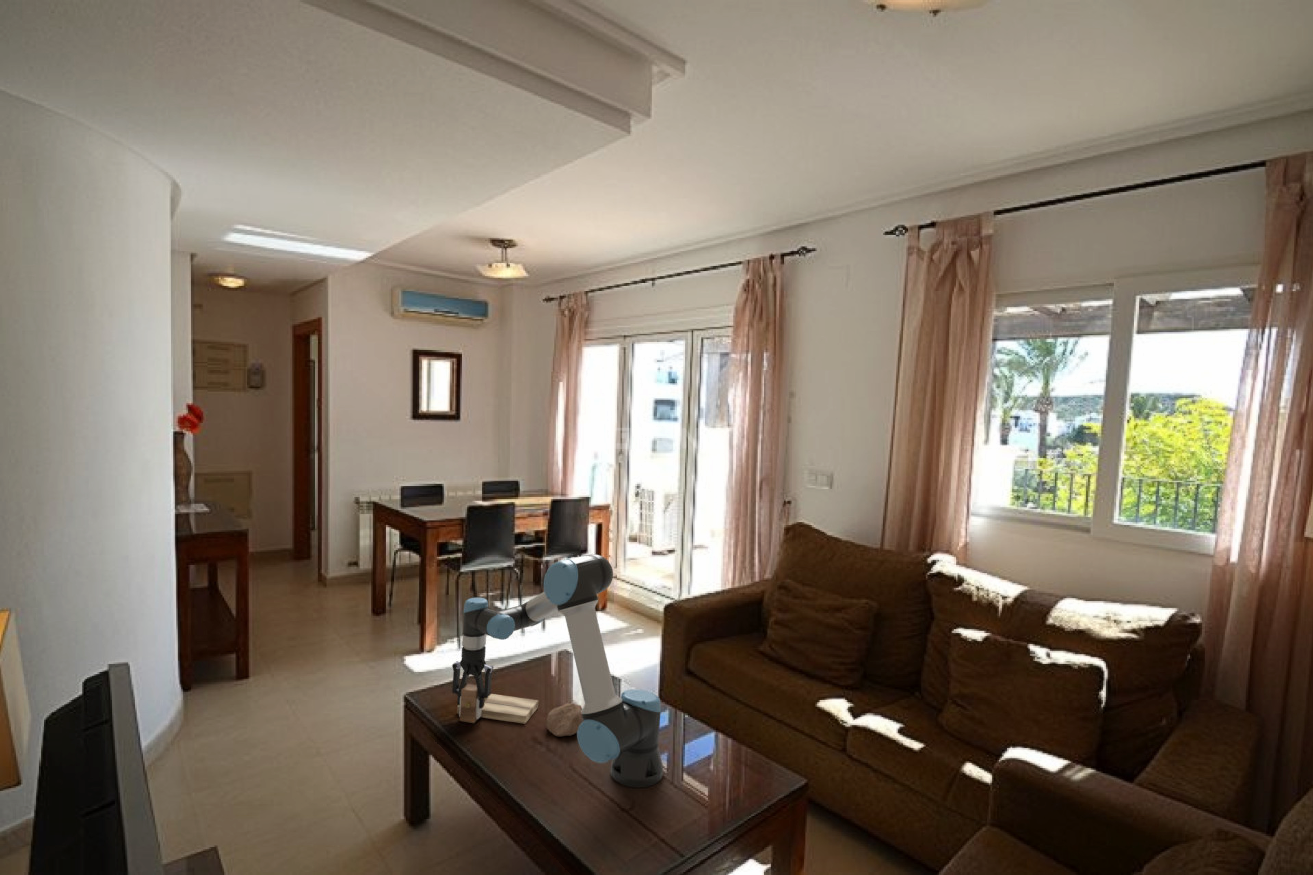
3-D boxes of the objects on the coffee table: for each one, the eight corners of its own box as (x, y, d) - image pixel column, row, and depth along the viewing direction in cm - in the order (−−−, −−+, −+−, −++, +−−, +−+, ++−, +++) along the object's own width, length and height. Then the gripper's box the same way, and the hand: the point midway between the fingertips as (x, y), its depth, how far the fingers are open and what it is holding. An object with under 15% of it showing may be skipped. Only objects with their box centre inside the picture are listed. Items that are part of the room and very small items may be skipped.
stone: (587, 735, 206) (586, 702, 211) (584, 733, 198) (583, 699, 203) (549, 739, 205) (549, 706, 210) (544, 737, 197) (544, 703, 202)
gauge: (473, 723, 204) (475, 691, 204) (459, 721, 205) (460, 689, 205) (492, 703, 219) (494, 674, 218) (479, 701, 219) (480, 672, 219)
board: (525, 723, 207) (525, 715, 207) (457, 713, 211) (457, 706, 211) (538, 707, 218) (538, 700, 218) (473, 698, 222) (473, 691, 222)
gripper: (504, 645, 209) (500, 714, 209) (453, 638, 212) (450, 707, 212) (495, 653, 201) (491, 725, 202) (442, 646, 204) (439, 717, 205)
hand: (470, 715), depth 207 cm, fingers closed on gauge, 5 cm apart
